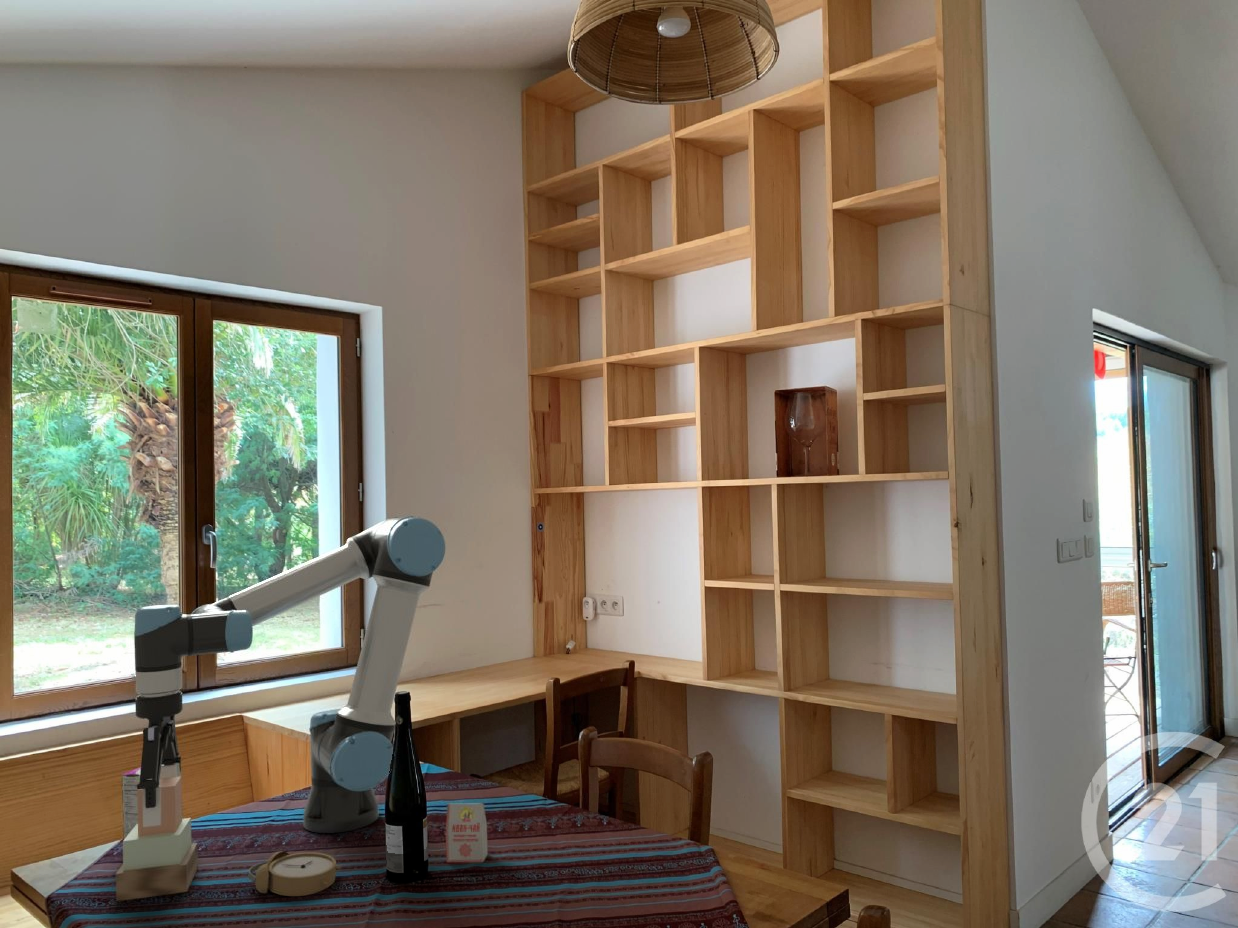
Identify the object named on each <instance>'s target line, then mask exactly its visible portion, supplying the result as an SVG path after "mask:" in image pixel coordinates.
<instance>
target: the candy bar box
mask: <svg viewBox="0 0 1238 928" xmlns="http://www.w3.org/2000/svg"><path fill="white" fill-rule="evenodd" d="M181 763H182V762H181ZM181 763H174V764H177V777H180V776H181V777H182V767H181V766H182V765H181ZM161 766H164V765H161ZM140 772H141V766H139V767H137V768H134V769H132V770H130V771H127V772H125V773H123V774H121V791H122V793H121V794H122V817H123V818H122V820H123V821H122V825H123V840H124V839H125V838H126V837H127V836H128V834H129V833H130V832H131V831H132V829H133V828H134V827H135V826H136V824H138V800H137V790H138V789H137V784H139V783H140ZM148 780H152V779H148Z"/></svg>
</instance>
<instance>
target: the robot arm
mask: <svg viewBox="0 0 1238 928" xmlns="http://www.w3.org/2000/svg"><path fill="white" fill-rule="evenodd" d="M445 554H446V541H445V538H444V535H443V533H442V531H441V530H440V529H439V527H438V526H437V525H436V524H435V523H433V522H432V521H430V520H428V519H427V518H426V519H425V518H422V517H420V516H412V515H410V516H403V517H402V516H399V517H398V516H396V517H390V518H386V519H384V520H382V521H381V522H379V523H376V524H375V525H374V526H371V527H370V528H367V529H366V530H363V531H362V532H360V533H357V534H356V535H353V536H351V537H349V538H347V539H346V541H345V544H344V545H343V546H341V547H338V548H336V549H334V550H331V551H329V552H327V553H325V554H321V555H320V556H318V557H315V558H312V559H311V560H308V561H307V562H304V563H301V564H300V565H297V566H295V567H293V568H290V569H289V570H286V571H284V572H281V573H279V574H277V575H274V576H271V577H270V578H267V579H266V580H263V581H261V582H259V583H256V584H253V585H252V586H249V587H247V588H245V589H243V590H241V591H238V592H236V593H234V594H231V595H228V596H227V597H225V598H222V599H220V600H218V601H216V602H214V603H209V604H203V605H201V606H199V607H197V608H196V609H194V610H193V611H192V612H191V613H190V614H186V613H185V614H183V612H182V608H181V606H179V605H178V604H155V605H148V606H143V607H140V608H139V609H138V610H137V611H136V612H135V614H134V633H133V634H134V636H133V637H134V638H133V639H134V667H135V671H134V672H135V675H132V677H131V681H132V682H135V693H136V694H138V695H137V696H136V697H135V717H137V718H138V719H142V720H144V719H147V720H148V725H147V726H148V727H144V728H143V730H142V751H141V764H140V767H141V772H140V783H139V784H137V789H143V827H149V826H157V825H161V785H160V786H159V780H160V779H161V778H171V777H177V764H174V763H182V756H180V751H179V745H178V737H177V731H176V722H175V716H176V715H178V714H180V713H182V711H183V692H182V691H181V689H182V688H183V687H184V686H183V665H182V659H183V658H184V657H191V656H199V655H208V654H209V655H210V654H211V655H212V654H220V653H235V652H239V651H245V650H248V649H249V648H250V647H251V646H252V644H253V643H252V642H253V633H254V631H253V627H254V626H257V625H259V624H261V623H264V622H265V621H267V620H270V619H271V618H274V617H277V616H279V615H281V614H283V613H285V612H287V611H289V610H291V609H294V608H296V607H299V606H300V605H301V606H302V605H303V604H305V603H307V602H310V601H311V600H313V599H316V598H318V597H320V596H323V595H324V594H327V593H329V592H332V591H333V590H335V589H338V588H339V587H340V588H341V587H342V586H344V585H347V584H348V583H350V582H354V581H356V580H357V579H360V578H361V579H363V580H369V579H371V578H373V579H374V581H375V583H376V585H377V588H376V591H375V595H374V599H373V604H372V606H371V610H370V614H369V618H368V622H367V626H366V630H365V634H364V638H363V642H362V646H361V650H360V654H359V658H358V661H357V666H356V668H355V673H354V677H353V680H352V684H351V689H350V693H349V696H348V700H347V704H346V705H345V706H343V707H342V708H335V709H329V710H324V711H319V712H316V713H314V714H312V716H311V718H310V725H309V728H308V730H309V733H310V734H309V735H310V736H309V737H310V738H309V739H310V741H309V742H310V769H311V770H310V773H311V774H310V777H311V778H310V779H311V781H310V782H311V787H310V791H309V795H308V798H307V801H306V804H305V806H304V811H303V817H302V820H303V823H302V825H303V828H304V829H305V830H307V831H309V832H313V833H318V834H319V833H320V834H333V833H334V834H335V833H342V832H343V833H344V832H350V831H355V830H358V829H361V828H363V827H366V826H369V825H371V824H373V823H375V822H376V821H377V820H378V819H379V815H380V814H379V813H380V812H379V808H380V807H379V803H378V799H377V798H376V797H377V796H376V795H375V792H374V788H376V787H377V786H379V785H380V784H381V783H383V782H384V781H385V780H386V779H387V778H388V776H389V774H390V773H389V771H390V764H391V760H392V754H393V749H394V746H393V744H392V740H393V736H394V731H395V727H396V723H397V721H396V720H395V718H394V717H393V715H392V708H393V704H394V699H395V695H396V693H397V692H396V691H397V687H398V684H399V683H398V682H399V679H400V674H401V673H402V672H401V671H402V667H403V663H404V659H405V655H406V651H407V647H408V643H409V639H410V636H411V632H412V631H411V630H412V627H413V624H414V620H415V619H414V618H415V615H416V611H417V607H418V603H419V598H420V595H421V594H422V593H424V592H425V591H427V590H429V588H430V586H431V581H432V578H433V573H434V572H435V571H436V570H437V569H438V568H439V567H440V565H441V564H442V563H443V561H444V558H445ZM161 765H164V766H161ZM390 772H391V771H390ZM148 779H152V780H148Z"/></svg>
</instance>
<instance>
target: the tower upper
mask: <svg viewBox="0 0 1238 928" xmlns="http://www.w3.org/2000/svg"><path fill="white" fill-rule="evenodd" d="M191 843H192V818H191V817H186V818H182V822H181V824H180V826H179V827H178V829H177V831H176V832H171V833H163V834H155V835H147V836H138V824H136V826H135V827H134V828H133V829H132V831H131V832H130V833H129V834H128V836H127V837H126V838H125V839H124V838H123V841H122V859H123V860H122V862H123V863H122V864H123V871H125V870H133V869H142V868H150V867H159V866H167V865H175V864H181V862H182V860H183V859H184V857H185V855H186V854H187V852H188V850H189V848H190V847H191Z"/></svg>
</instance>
